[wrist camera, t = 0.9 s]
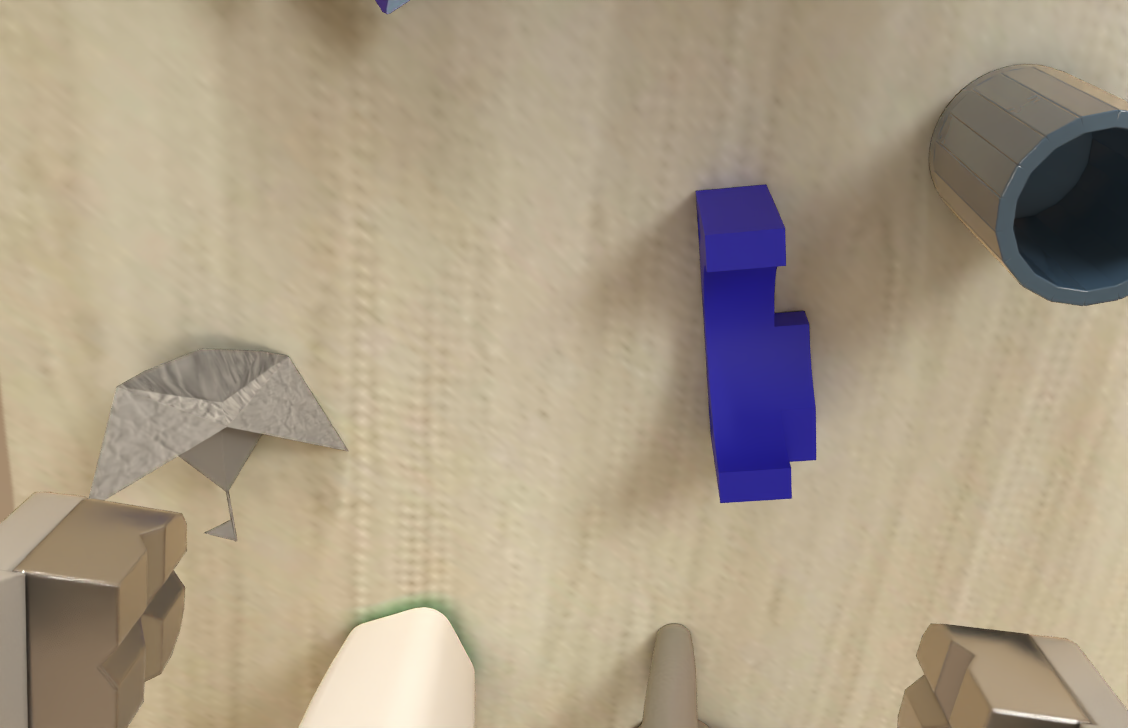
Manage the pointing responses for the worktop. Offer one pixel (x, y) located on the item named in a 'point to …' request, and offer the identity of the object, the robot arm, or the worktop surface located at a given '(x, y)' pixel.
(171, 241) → the worktop surface
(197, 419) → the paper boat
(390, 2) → the toy airplane
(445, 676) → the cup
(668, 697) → the elf figurine
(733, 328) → the blue half clamp bracket
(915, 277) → the worktop surface
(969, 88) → the tumbler
